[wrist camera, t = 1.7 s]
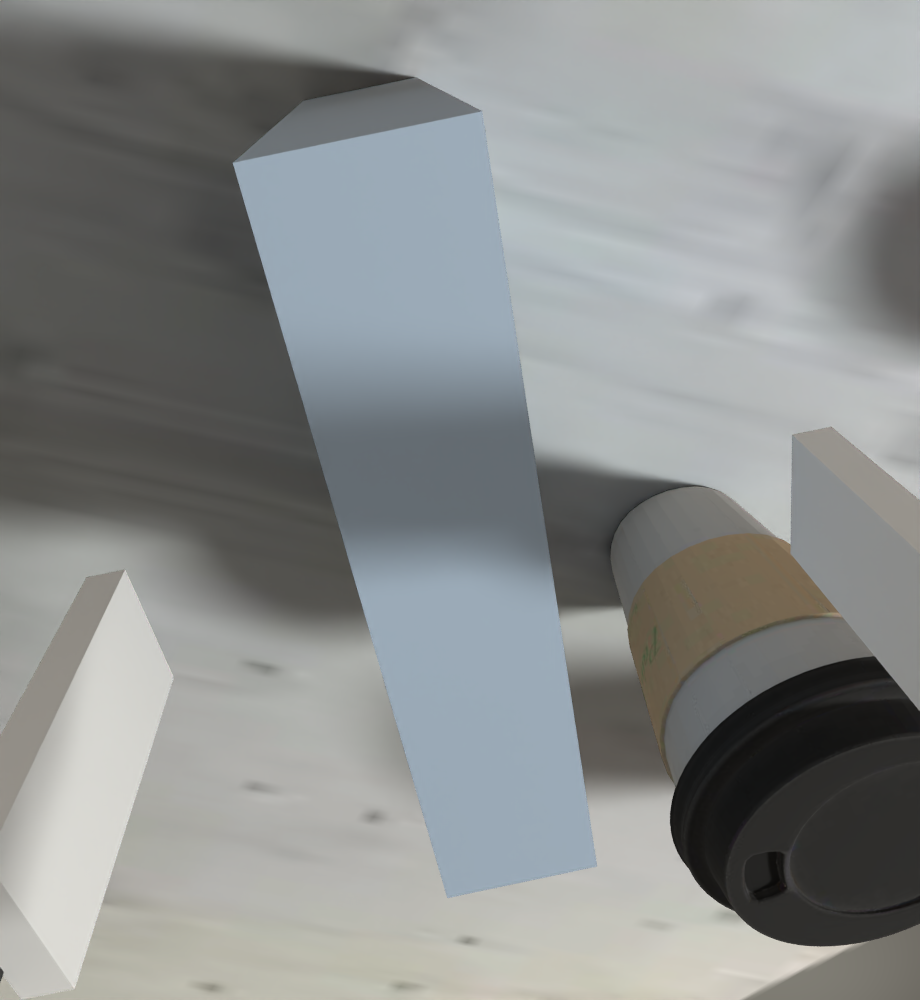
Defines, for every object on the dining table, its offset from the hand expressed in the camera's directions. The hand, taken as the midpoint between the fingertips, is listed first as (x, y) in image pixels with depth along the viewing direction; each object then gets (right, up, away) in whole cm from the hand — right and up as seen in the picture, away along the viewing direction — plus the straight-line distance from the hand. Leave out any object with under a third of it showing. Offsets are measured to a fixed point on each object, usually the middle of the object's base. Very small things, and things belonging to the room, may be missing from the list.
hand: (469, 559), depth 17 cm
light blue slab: (-2, +7, +13) cm, 15 cm away
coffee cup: (+9, -1, +18) cm, 20 cm away
